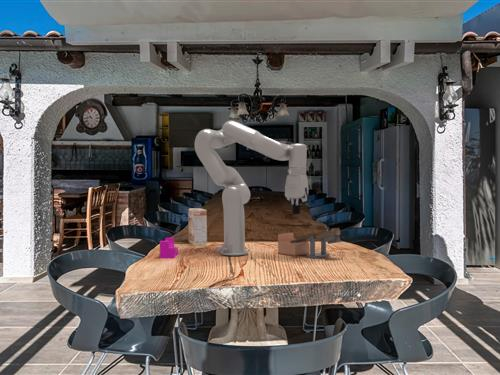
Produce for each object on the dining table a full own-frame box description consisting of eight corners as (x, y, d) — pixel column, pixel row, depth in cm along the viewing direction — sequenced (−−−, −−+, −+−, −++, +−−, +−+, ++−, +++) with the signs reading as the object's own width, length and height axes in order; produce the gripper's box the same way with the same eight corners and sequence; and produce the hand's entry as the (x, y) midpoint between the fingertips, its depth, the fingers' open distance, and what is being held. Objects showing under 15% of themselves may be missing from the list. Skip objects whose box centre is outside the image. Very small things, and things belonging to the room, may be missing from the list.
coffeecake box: (188, 245, 250) (187, 208, 250) (201, 244, 252) (201, 208, 252) (193, 248, 236) (193, 209, 236) (207, 248, 238) (207, 209, 238)
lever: (323, 244, 192) (320, 229, 193) (286, 251, 206) (284, 237, 207) (342, 241, 201) (339, 227, 202) (305, 248, 215) (303, 235, 216)
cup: (295, 256, 209) (294, 235, 209) (278, 253, 217) (278, 234, 217) (309, 253, 216) (309, 234, 216) (292, 251, 224) (292, 232, 224)
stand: (315, 258, 201) (315, 236, 201) (306, 257, 205) (306, 235, 205) (329, 256, 208) (329, 234, 208) (320, 255, 212) (320, 234, 212)
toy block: (174, 258, 206) (174, 241, 206) (159, 258, 206) (159, 241, 206) (179, 253, 221) (179, 237, 221) (166, 253, 221) (166, 237, 221)
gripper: (279, 171, 209) (278, 213, 209) (305, 172, 198) (304, 215, 198) (290, 172, 214) (289, 212, 214) (316, 172, 203) (315, 215, 204)
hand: (296, 214), depth 206 cm, fingers closed
